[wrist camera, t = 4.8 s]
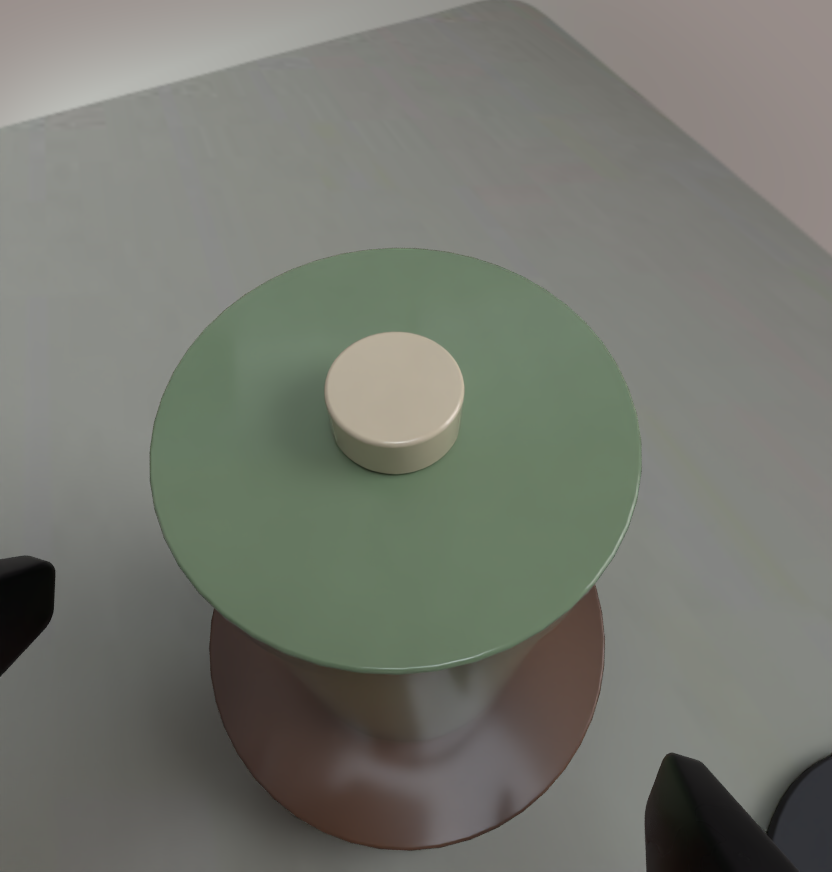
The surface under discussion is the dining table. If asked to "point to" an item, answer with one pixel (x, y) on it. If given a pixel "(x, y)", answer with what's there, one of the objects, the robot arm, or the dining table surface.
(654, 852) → the robot arm
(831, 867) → the coaster
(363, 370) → the canister
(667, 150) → the dining table surface
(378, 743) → the platform
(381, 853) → the dining table surface
